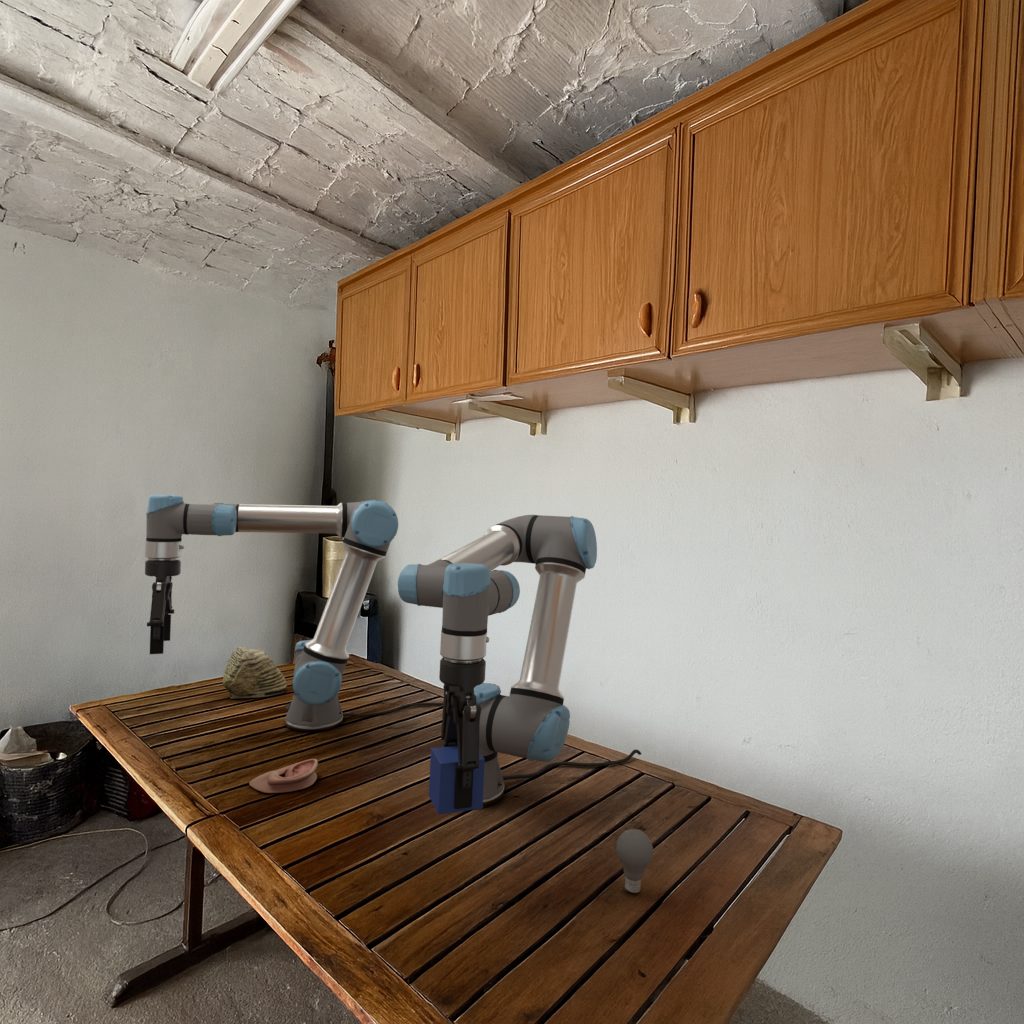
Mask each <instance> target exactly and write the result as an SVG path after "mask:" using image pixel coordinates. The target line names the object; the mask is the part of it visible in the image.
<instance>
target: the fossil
mask: <svg viewBox="0 0 1024 1024" xmlns="http://www.w3.org/2000/svg"><path fill="white" fill-rule="evenodd" d="M222 676H223V677H222V685H223V687H224V688H225V690H226V691H228V693H229V698H230V699H250V698H264V697H271V696H275V695H281V694H284V693H285V691H286V689H287V687H288V686H287V680H286V678H285V676H284V674H283V673H282V672H281V669H279V668H278V667H277V665H276V663H275V662H274V660H273V659H272V658H271V657H270V656H269V655H268V654H267V653H266V652H265V650H264V649H263V648H260V647H258V648H251V647H247V646H246V647H245V646H238V647H237V648H236V649H235V650H233V651H232V653H231V656H230V657H229V659H228V660H227V663H226V666H225V668H224V671H223V675H222Z"/></svg>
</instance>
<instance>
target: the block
mask: <svg viewBox="0 0 1024 1024" xmlns="http://www.w3.org/2000/svg"><path fill="white" fill-rule="evenodd" d="M484 765H485V759H484V758H483V756H482V755H481V754H480V753H479V768H478V769H473V790H472V807H470V808H462V809H455V808H454V799H455V777H456V770H454V766H458V746H450V747H444V746H442V747H439V746H438V747H431V748H430V763H429V785H428V797H429V799H430V801H431V803H432V805H433V806H434V809H435V810H436V812H437V814H438V815H445V814H452V813H460V812H467V811H468V812H469V811H475V810H481V809H483V808H484V807H483V787H484Z"/></svg>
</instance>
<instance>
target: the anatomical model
mask: <svg viewBox="0 0 1024 1024" xmlns="http://www.w3.org/2000/svg"><path fill="white" fill-rule="evenodd" d="M318 764H319V761H318V759H317V758H309V759H305V760H302V761H299V762H296V763H293V764H290V765H289V764H288V765H287V766H284V767H281V768H279V769H274V770H271V771H268V772H265V773H263V774H260V775H258V776H256V777H254V778H252V779H251V780H250V781H249V783H248V784H249V785H248V786H250V787H251V788H253V789H254V790H256V791H258V792H261V793H264V794H279V793H289V792H295V791H298V790H303V789H306V788H309V787H311V786H312V785H313V784H315V782H316V781H317V778H318V775H317V773H316V770H317V768H318Z"/></svg>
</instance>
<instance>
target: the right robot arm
mask: <svg viewBox="0 0 1024 1024" xmlns="http://www.w3.org/2000/svg"><path fill="white" fill-rule="evenodd" d="M597 558H598V542H597V535H596V531H595V527H594V525H593V523H592V522H591V521H590V520H589V519H587V518H584V517H577V516H574V515H571V516H561V515H540V514H525V515H520V516H515V517H512V518H509V519H506V520H503V521H501V522H499V523H496V524H494V525H493V526H490V527H489V528H487V530H486V531H485V532H484V533H483V535H482V536H481V537H478V538H477V539H475V540H473V541H471V542H469V543H467V544H466V545H463V546H462V547H460V548H457V549H456V550H454V551H451V553H449V554H447V555H444V556H443V557H441V558H439V559H437V560H435V561H433V562H431V563H429V564H421V563H418V564H417V563H416V564H415V563H414V564H413V563H411V564H407V565H405V566H404V567H403V568H402V569H401V571H400V572H399V575H398V579H397V591H398V592H397V593H398V596H399V598H400V599H401V601H403V602H404V603H407V604H411V605H416V606H418V607H421V606H422V607H423V606H424V607H429V608H440V609H442V618H441V619H442V621H441V624H442V625H441V630H440V647H439V654H440V656H441V657H442V658H441V659H440V660H439V676H438V679H439V681H440V682H441V683H442V684H443V687H442V688H443V702H442V703H443V705H442V717H441V718H442V719H441V731H440V740H441V741H443V743H442V745H443V746H442V747H450V746H458V766H454V770H456V777H455V799H454V808H455V809H462V808H470V807H472V790H473V769H478V768H479V753H480V754H481V755H482V756H483V758H484V759H485V765H484V787H483V808H484V807H487V806H491V805H493V804H495V803H496V804H497V802H499V801H500V800H502V799H503V797H504V794H505V781H509V780H520V779H522V780H523V779H530V778H531V779H532V778H535V777H538V776H539V775H541V774H543V773H545V772H546V770H549V769H551V768H554V767H559V766H568V767H569V766H572V767H581V768H582V767H583V768H584V767H585V768H595V767H596V768H598V767H609V766H615V765H620V764H623V763H626V762H628V761H630V760H631V759H632V758H633V757H634V755H635V754H637V755H638V756H640V755H642V752H641V751H640V750H639V749H633V750H632V751H631V752H630V753H629V754H628V755H627V756H626V757H625V758H621V759H617V760H612V761H603V762H602V761H601V762H576V761H557V762H556V761H555V762H551V761H553V760H555V759H556V758H557V757H558V755H559V754H560V752H562V749H563V747H564V745H565V742H566V740H567V736H568V734H569V733H568V732H569V728H570V723H571V722H570V718H571V712H570V708H568V707H567V706H566V705H565V704H564V702H565V697H564V694H562V692H561V691H560V683H561V678H562V672H563V665H564V660H565V653H566V648H567V642H568V637H569V632H570V631H569V630H570V624H571V619H572V614H573V613H572V612H573V607H574V603H575V596H576V591H577V584H578V583H579V582H581V581H582V580H583V579H585V577H586V571H587V570H591V569H594V568H595V566H596V563H597V560H598V559H597ZM513 563H526V564H534V570H535V571H536V572H537V574H538V575H539V579H538V584H537V590H536V595H535V599H534V604H533V609H532V615H531V620H530V626H529V629H528V636H527V640H526V645H525V651H524V655H523V660H522V661H523V662H522V667H521V672H520V676H519V680H518V681H517V682H516V683H514V684H513V685H512V686H511V687H510V692H509V695H505V694H504V695H503V694H502V689H501V687H500V686H499V685H497V684H495V683H491V682H485V680H486V666H487V662H486V660H485V658H486V656H487V643H489V642H490V637H489V636H488V624H489V623H488V622H489V616H492V615H496V614H502V613H505V612H506V611H508V610H509V609H511V608H513V607H514V606H516V604H517V603H518V600H519V598H520V596H521V595H520V594H521V588H520V583H519V581H518V579H517V578H516V576H515V575H514V574H513V573H511V572H510V571H507V570H503V569H500V570H499V569H497V568H498V567H499V566H500V567H501V566H503V567H504V566H508V565H511V564H513ZM498 753H499V754H504V755H509V756H513V757H517V758H521V759H525V760H528V761H532V762H533V761H536V762H544V763H548V762H551V763H548V764H546V765H544V766H543V767H541V769H539V770H537V771H535V772H532V773H527V774H512V775H511V774H510V775H503V773H502V769H501V766H500V762H499V757H498Z"/></svg>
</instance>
